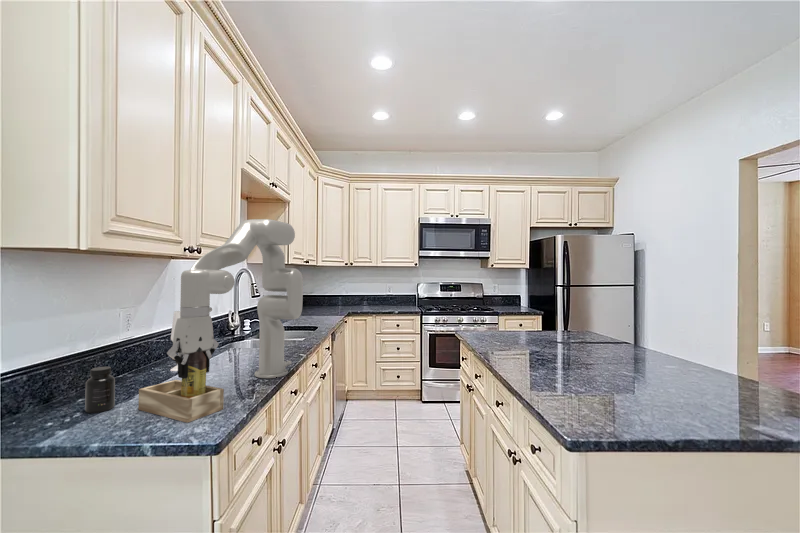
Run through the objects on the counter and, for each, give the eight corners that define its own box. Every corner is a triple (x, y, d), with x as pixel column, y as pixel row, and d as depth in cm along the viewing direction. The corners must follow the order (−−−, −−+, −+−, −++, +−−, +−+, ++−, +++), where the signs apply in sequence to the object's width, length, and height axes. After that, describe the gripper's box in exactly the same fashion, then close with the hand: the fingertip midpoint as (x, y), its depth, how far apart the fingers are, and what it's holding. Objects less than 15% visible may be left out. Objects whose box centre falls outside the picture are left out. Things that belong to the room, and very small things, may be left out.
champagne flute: (173, 367, 161) (174, 310, 162) (190, 366, 163) (192, 310, 163) (167, 371, 155) (168, 312, 155) (185, 370, 156) (186, 312, 157)
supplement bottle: (83, 409, 112) (84, 368, 112) (112, 403, 116) (113, 364, 117) (86, 415, 107) (87, 372, 107) (116, 409, 111) (117, 368, 112)
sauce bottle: (175, 405, 109) (177, 335, 109) (196, 399, 114) (197, 332, 115) (190, 409, 106) (191, 337, 106) (210, 402, 111) (211, 334, 112)
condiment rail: (175, 398, 122) (176, 379, 122) (223, 409, 113) (223, 388, 113) (138, 409, 111) (138, 389, 112) (187, 422, 102) (187, 400, 102)
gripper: (212, 309, 120) (211, 366, 120) (157, 314, 104) (155, 380, 104) (229, 310, 117) (228, 369, 116) (174, 316, 101) (173, 384, 101)
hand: (194, 374), depth 110 cm, fingers closed on sauce bottle, 6 cm apart
